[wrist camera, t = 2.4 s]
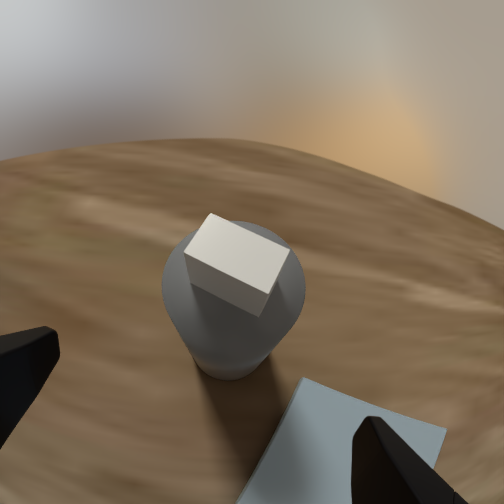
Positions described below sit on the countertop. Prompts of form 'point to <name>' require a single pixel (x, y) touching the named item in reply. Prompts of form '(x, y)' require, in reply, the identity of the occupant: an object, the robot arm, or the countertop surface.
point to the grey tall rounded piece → (232, 294)
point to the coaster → (325, 447)
